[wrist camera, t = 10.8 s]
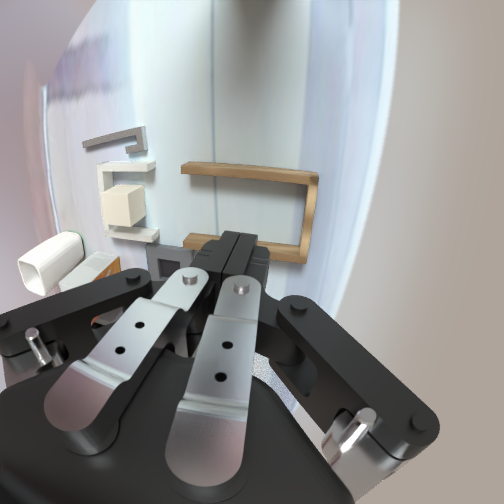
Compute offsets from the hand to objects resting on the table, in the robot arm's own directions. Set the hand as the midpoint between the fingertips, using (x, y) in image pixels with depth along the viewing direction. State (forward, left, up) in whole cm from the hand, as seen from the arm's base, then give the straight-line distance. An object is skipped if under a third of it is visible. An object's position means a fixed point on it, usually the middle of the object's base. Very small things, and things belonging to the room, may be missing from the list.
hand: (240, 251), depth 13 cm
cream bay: (+9, -25, -31) cm, 41 cm away
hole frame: (+22, -18, -31) cm, 42 cm away
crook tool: (-1, -28, -31) cm, 42 cm away
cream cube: (+9, -25, -31) cm, 41 cm away
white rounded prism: (+20, -42, -31) cm, 56 cm away
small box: (+25, -33, -31) cm, 52 cm away
